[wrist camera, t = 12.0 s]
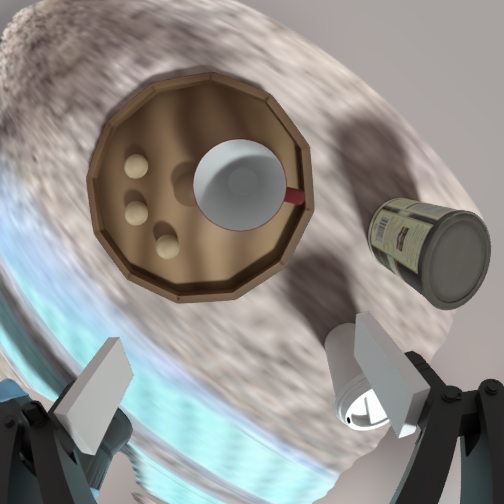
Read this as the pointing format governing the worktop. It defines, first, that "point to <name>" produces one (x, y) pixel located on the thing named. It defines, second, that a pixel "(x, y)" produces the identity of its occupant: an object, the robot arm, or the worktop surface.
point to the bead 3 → (167, 246)
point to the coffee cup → (351, 382)
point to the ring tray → (175, 156)
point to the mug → (241, 185)
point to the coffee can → (432, 249)
